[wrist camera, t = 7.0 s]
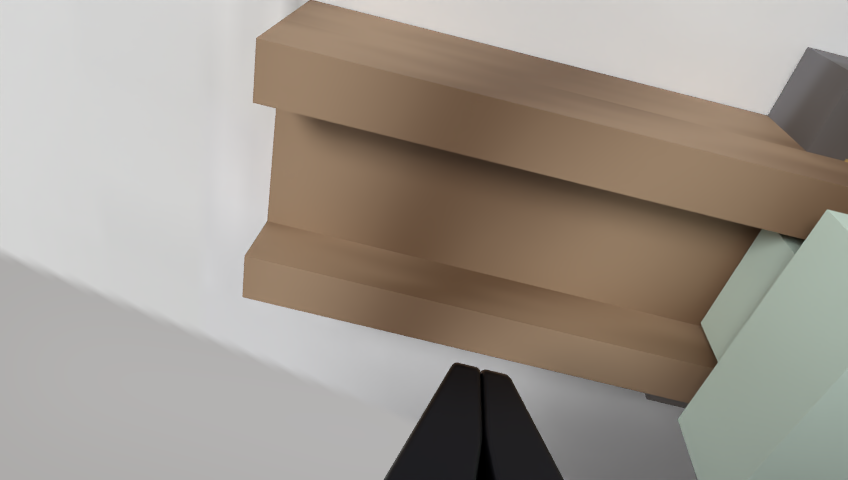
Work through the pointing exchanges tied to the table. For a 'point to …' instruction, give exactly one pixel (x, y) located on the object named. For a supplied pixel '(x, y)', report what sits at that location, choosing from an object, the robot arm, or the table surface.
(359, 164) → the beam
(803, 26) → the table surface
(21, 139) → the table surface
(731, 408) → the block
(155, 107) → the table surface
